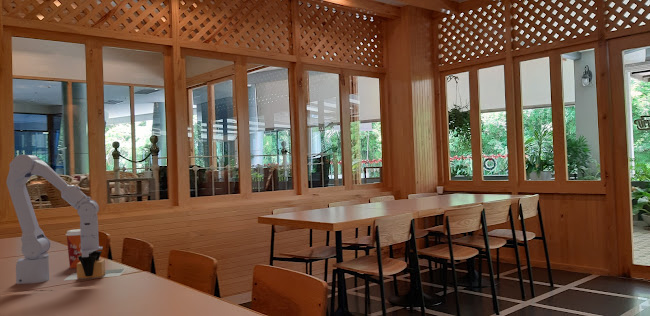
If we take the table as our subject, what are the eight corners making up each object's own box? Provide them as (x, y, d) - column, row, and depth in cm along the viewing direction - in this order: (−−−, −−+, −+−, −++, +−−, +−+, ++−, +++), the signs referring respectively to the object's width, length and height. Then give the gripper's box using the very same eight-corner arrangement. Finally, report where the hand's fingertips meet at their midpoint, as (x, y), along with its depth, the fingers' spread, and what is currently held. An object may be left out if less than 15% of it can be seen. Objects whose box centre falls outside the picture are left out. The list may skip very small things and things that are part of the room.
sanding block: (77, 278, 174) (76, 264, 174) (81, 275, 179) (80, 261, 179) (102, 276, 176) (101, 262, 176) (105, 273, 181) (104, 259, 181)
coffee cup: (70, 272, 190) (69, 232, 191) (64, 269, 197) (63, 230, 197) (93, 268, 196) (92, 229, 196) (87, 265, 202) (86, 228, 202)
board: (63, 283, 173) (63, 280, 173) (73, 275, 185) (73, 272, 185) (119, 278, 177) (119, 275, 177) (125, 271, 188) (125, 268, 188)
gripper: (97, 237, 171) (98, 277, 171) (106, 231, 186) (107, 269, 186) (74, 238, 170) (75, 279, 170) (85, 233, 184) (86, 270, 184)
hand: (91, 274), depth 178 cm, fingers closed on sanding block, 5 cm apart
